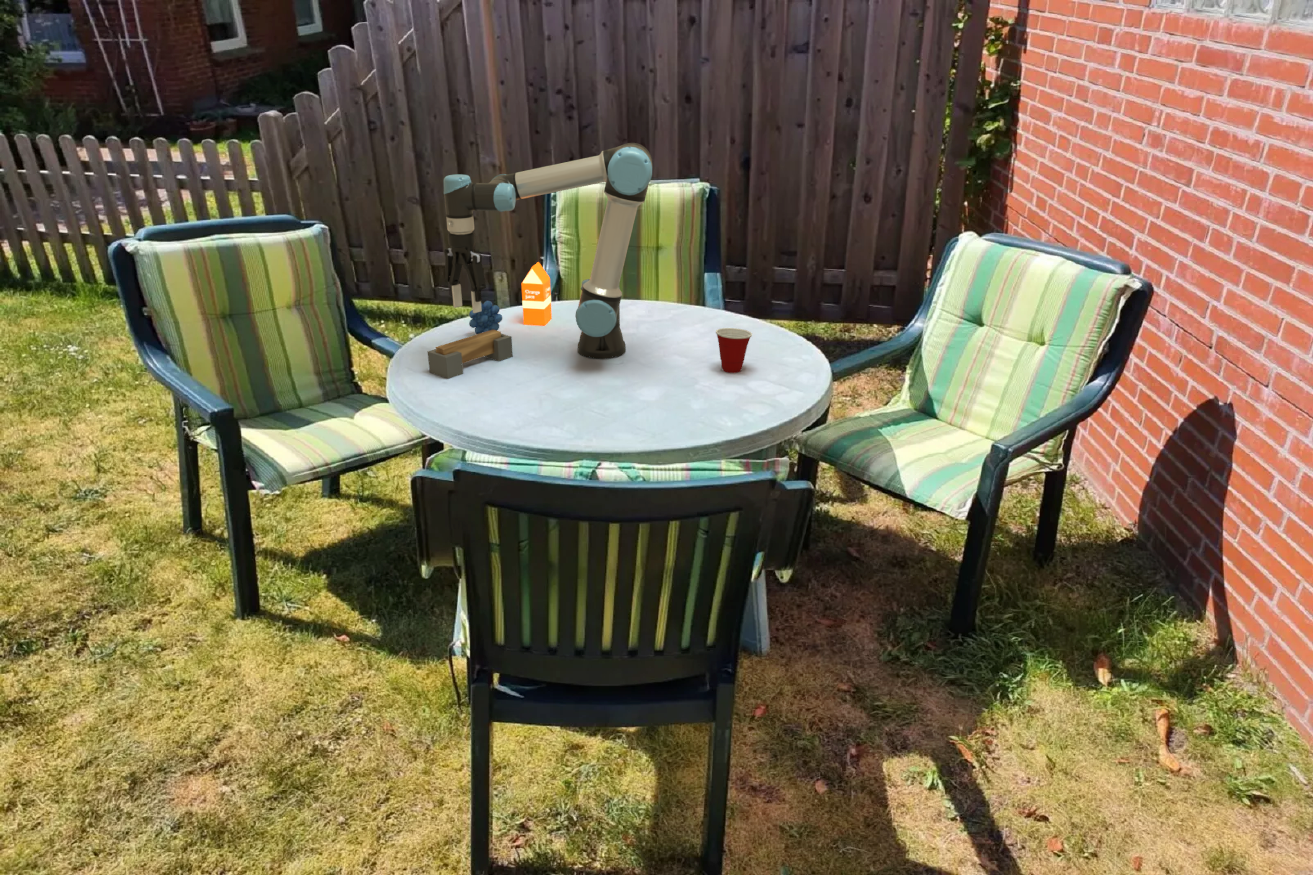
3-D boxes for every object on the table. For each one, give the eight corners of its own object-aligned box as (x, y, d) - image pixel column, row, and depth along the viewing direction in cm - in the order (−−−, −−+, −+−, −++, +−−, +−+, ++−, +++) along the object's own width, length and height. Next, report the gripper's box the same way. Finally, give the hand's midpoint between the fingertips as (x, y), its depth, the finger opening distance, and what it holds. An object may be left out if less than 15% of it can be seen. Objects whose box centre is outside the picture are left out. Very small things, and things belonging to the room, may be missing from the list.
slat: (502, 350, 277) (500, 331, 275) (445, 369, 262) (443, 349, 259) (494, 347, 279) (493, 329, 277) (437, 366, 264) (435, 347, 261)
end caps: (512, 356, 278) (511, 336, 275) (448, 378, 260) (446, 357, 257) (494, 350, 283) (492, 331, 280) (429, 372, 265) (427, 351, 262)
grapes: (508, 333, 299) (505, 298, 294) (500, 339, 293) (498, 303, 288) (475, 330, 301) (472, 295, 296) (467, 336, 295) (464, 301, 290)
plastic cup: (757, 369, 269) (760, 331, 264) (735, 378, 262) (737, 339, 257) (729, 360, 276) (731, 323, 271) (706, 369, 268) (708, 331, 263)
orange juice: (523, 324, 308) (520, 267, 299) (530, 317, 315) (527, 261, 307) (545, 326, 306) (542, 268, 298) (552, 318, 314) (549, 262, 306)
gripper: (427, 228, 258) (434, 305, 268) (474, 238, 246) (481, 318, 256) (447, 224, 263) (454, 300, 273) (495, 234, 251) (501, 313, 261)
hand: (467, 309), depth 264 cm, fingers open, 8 cm apart
